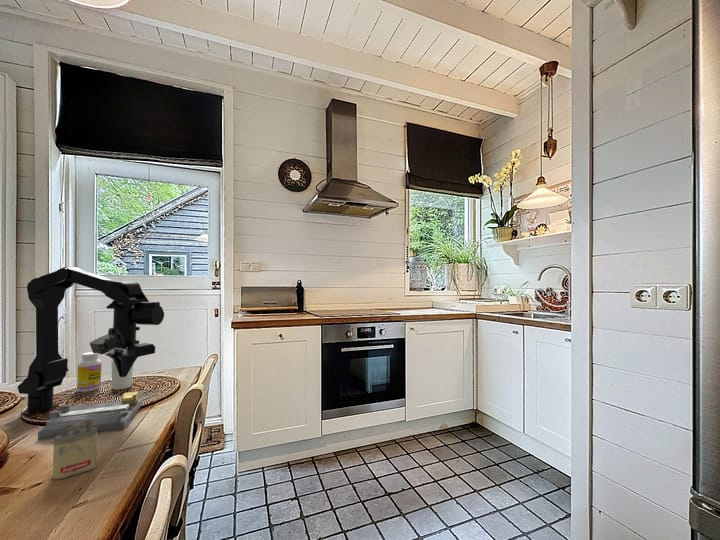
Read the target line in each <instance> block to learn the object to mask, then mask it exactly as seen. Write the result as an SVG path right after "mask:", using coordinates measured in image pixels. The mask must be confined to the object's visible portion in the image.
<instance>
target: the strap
mask: <svg viewBox="0 0 720 540" xmlns="http://www.w3.org/2000/svg"><path fill="white" fill-rule="evenodd" d="M128 408H129V404H127V405H119V406H111V407H103V408H94V409H86V410H78V411H70V412H61V418H62V417H71V416H81V415H91V414H101V413H111V412H121V411H126V410H127V409H128Z"/></svg>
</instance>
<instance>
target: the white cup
mask: <svg viewBox="0 0 720 540" xmlns="http://www.w3.org/2000/svg"><path fill="white" fill-rule="evenodd" d="M133 371H134V364H133V365H132V367H131V369H130V371H129V372H128V374H127V376H126V377H120V376H119V373H118V371H117V368H116V365H115V363H114V360H113V359H112V360H111V388H112V389H113V390H123V389H128V388H131V387H132V383H133Z"/></svg>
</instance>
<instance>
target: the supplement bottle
mask: <svg viewBox="0 0 720 540" xmlns="http://www.w3.org/2000/svg"><path fill="white" fill-rule="evenodd" d="M98 357H99V353H93V351H87V352H83V353H81V358H82V359H81V360H80V361H79V362H78V363H77V375H76V377H77V378H76V379H77V380H76V390H77V392H81V393H87V391H88V392H93V391H96V390H98V389H100V388H101V386H102V385H101V384H102V382H101V381H102V379H101V378H102V360H101V359H99V358H98Z"/></svg>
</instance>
